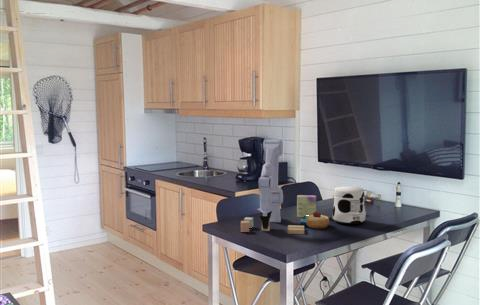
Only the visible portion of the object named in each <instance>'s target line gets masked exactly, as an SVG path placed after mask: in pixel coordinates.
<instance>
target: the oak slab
mask: <svg viewBox="0 0 480 305" xmlns="http://www.w3.org/2000/svg"><path fill="white" fill-rule="evenodd" d="M287 234H288V235H293V234H294V235H305V225H293V224H292V225H291V224H289V225H287Z"/></svg>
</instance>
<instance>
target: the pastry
mask: <svg viewBox="0 0 480 305" xmlns="http://www.w3.org/2000/svg"><path fill="white" fill-rule="evenodd" d="M319 211H321V212H322V213H324V211H323V210H322V209H318V211H316V212H314V213H313V215H309V216H307V217H305V224H306V225H307V227H309V228H310V229H317V230H319V229H321V230H322V229H327V227H328V226H329V224H330V223H329V222H330V219H329V216H327V215H323V214H321V213H320V212H319Z"/></svg>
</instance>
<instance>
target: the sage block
mask: <svg viewBox="0 0 480 305" xmlns="http://www.w3.org/2000/svg"><path fill="white" fill-rule="evenodd" d="M243 221H249V228H252V227H253V228H254V217H249V216H248V217H247V216H246V217H244V218H243ZM253 228H252V229H253Z"/></svg>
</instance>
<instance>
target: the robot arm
mask: <svg viewBox="0 0 480 305" xmlns="http://www.w3.org/2000/svg"><path fill="white" fill-rule="evenodd" d="M283 142H284V141H283V140H282V139H264V140H263V142H262V143H263V144H262V145H263V146H262V148H263V151H264V154H265V163H264V164H263V165H262V169H261V174H260V176H259V178H258V182H257V183H258V192H259V208H257V211H258V212H259V211H260V214H259V216H258V217H259V219H260V220H261V221H262V223H261V226H262V225H263V229H268V223H269V219H270V223H282V222H281V221H282V217H281V204H283V203H284V202H283V201H284V192H283V189H282V188H281V187H279V160H280V157H281V156H283V153H284V143H283Z"/></svg>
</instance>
